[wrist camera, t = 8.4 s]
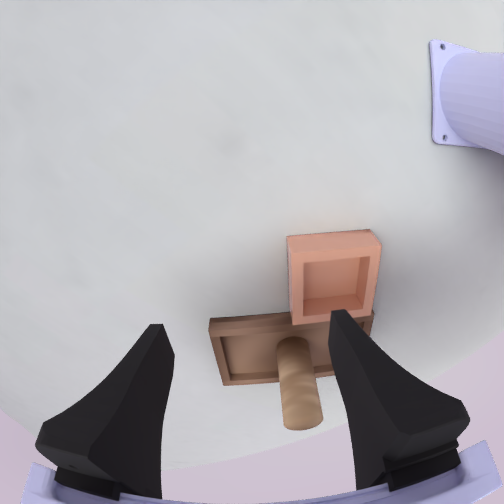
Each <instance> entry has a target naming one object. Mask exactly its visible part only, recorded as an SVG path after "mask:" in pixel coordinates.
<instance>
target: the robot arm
mask: <svg viewBox="0 0 504 504" xmlns="http://www.w3.org/2000/svg"><path fill="white" fill-rule="evenodd" d="M440 44H441V45H442V47H443V50H442V49H441V48H440ZM430 55H431V69H432V92H433V127H432V139H433V141H434V142H435V143H438V144H447V145H458V146H468V147H477V148H485V149H490V150H492V151H495V152H497V153H499V154H502V155H504V53H480V52H477V51H475V50H472V49H468V48H465V47H462V46H459V45H455V44H452V43H448V42H445V41H441V40H437V39H433V40H431V41H430ZM443 135H445V138H444V140H443V139H442V137H443ZM328 347H329V353H330V358H331V363H332V367H333V370H334V373H335V376H336V379H337V382H338V386H339V389H340V392H341V395H342V398H343V401H344V405H345V408H346V412H347V418H348V423H349V429H350V434H351V442H352V448H353V456H354V465H355V477H356V491H353V492H348V493H343V494H338V495H332V496H326V497H321V498H314V499H306V500H298V501H289V502H278V503H261V504H473V503H475V502H476V501H478V500H480V499H482V498H484V497H485V496H487V495H489V494H490V493H492V492H493V491H495V490H497V489H498V488H500V487H501V486H502V481H501V478H500V476H499V473H498V470H497V468H496V465H495V462H494V460H493V457H492V454H491V452H490V450H489V447H488V445H487V442H486V441H485V440H483V441H481V442H479V443H477V444H475V445H473V446H471V447H469V448H467V449H465V450H463V451H461V452H460V453H458V452H457V449H456V448H457V447H458V446H459V444H458V442H457V437H458V436H459V435H460V434H461V433H462V432H463V431H464V430H465V429H466V427H467V426H468V425H469V422H470V417H469V415H468V413H467V411H466V409H465V407H464V405H463V403H462V402H461V400H459V399H456V398H454V397H452V396H449V395H447V394H445V393H442V392H440V391H439V390H437V389H435V388H433V387H431V386H429V385H428V384H426V383H424V382H423V381H421V380H420V379H418V378H417V377H415V376H413V375H412V374H410V373H409V372H408V371H406V370H405V369H404V368H402V367H401V366H400V365H399V364H397V363H396V362H395V361H394V360H393V359H392V358H390V357H389V356H388V355H387V354H386V353H385V352H384V351H383V350H382V349H381V348H380V347H379V346H378V345H377V344H376V343H375V342H374V341H373V340H372V339H371V338H370V337H369V336H368V335H367V334H366V333H365V331H364V330H363V329H362V328H361V327H360V326H359V325H358V323H357V322H356V321H355V320H354V319H353V318H352V316H351V315H350V314H349V313H348V311H347V310H346V309H340V310H333V311H331V317H330V327H329V337H328ZM174 358H175V354H174V352H173V349H172V347H171V344H170V342H169V339H168V336H167V334H166V331H165V328H164V326H163V324H150V325H149V326H148V328H147V329H146V330H145V331H144V333H143V334H142V335H141V336H140V338H139V339H138V340H137V342H136V343H135V344H134V345H133V347H132V348H131V349H130V350H129V352H128V353H127V354H126V355H125V357H124V358H123V359H122V360H121V361H120V363H119V364H118V365H117V366H116V367H115V368H114V369H113V371H112V372H111V373H110V374H109V375H108V376H107V377H106V378H105V379H104V380H103V381H102V382H101V383H100V384H99V385H98V386H97V387H95V388H94V389H93V390H92V391H91V392H89V393H88V394H87V395H86V396H85V397H83V398H82V399H81V400H80V401H78V402H77V403H75V404H74V405H73V406H71V407H70V408H68V409H66V410H65V411H63V412H62V413H60V414H58V415H56V416H55V417H53V418H51V419H49V420H47V421H45V422H43V425H42V427H41V430H40V432H39V435H38V438H37V440H36V443H35V447H36V449H37V450H38V451H39V452H40V453H41V454H42V455H43V456H45V457H46V458H47V459H49V460H50V461H51V462H53V463H54V464H55V465H56V466H58V468H57V471H55V470H53V469H50V468H48V467H45V466H42V465H40V464H37V463H35V462H33V463H32V465H31V468H30V471H29V474H28V478H27V481H26V484H25V488H24V492H23V495H22V499H21V503H20V504H207V503H191V502H180V501H171V500H162V490H161V441H162V428H163V420H164V414H165V409H166V405H167V400H168V396H169V391H170V387H171V382H172V377H173V370H174Z"/></svg>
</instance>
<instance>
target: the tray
mask: <svg viewBox="0 0 504 504" xmlns="http://www.w3.org/2000/svg"><path fill="white" fill-rule="evenodd" d="M373 317H374V312H373V310H372V311H371V315H369V316H362V317H355V318H353V319H354V320H355V321H356V322H357V323H358V325H359V326H360V327H361V328H362V329H363V330H364V331H365V333H366V334H367V335H368V336H370V331H371V327H372V322H373ZM329 327H330V321H325V322H317V323H309V324H300V325H293V324H292V319H291V313H290V312H285V313H274V314H263V315H251V316H238V317H224V318H210V322H209V330H208V331H209V335H210V338H211V342H212V346H213V350H214V353H215V357H216V361H217V364H218V368H219V371H220V375H221V379H222V382H223V385H224V386H229V385H248V384H262V383H274V382H279V372H278V362H277V353H276V347H277V344H278V343H279V342H280V341H281V340H283V339H285V338H287V337H292V336H297V337H302V338H304V339H305V340H306V341H307V342H308V345H309V350H310V354H311V359H312V364H313V369H314V374H315V378H319V377H326V376H333V375H335V373H334V370H333V367H332V363H331V358H330V353H329V347H328V337H329Z"/></svg>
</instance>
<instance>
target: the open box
mask: <svg viewBox="0 0 504 504" xmlns="http://www.w3.org/2000/svg"><path fill="white" fill-rule="evenodd" d="M381 248H382V245H381V243H380V242H379V241H378V239H377V238H376V237H375V236H374V234H373V233H372V232H371V230H370V229H367V230H354V231H342V232H330V233H318V234H307V235H295V236H287V258H288V286H289V307H290V313H291V319H292V324H293V325H300V324H309V323H317V322H325V321H330V317H331V311H333V310H340V309H346V310H347V311H348V313H349V314H350V315H351V316H352V318H355V317H362V316H369V315H371V311H372V306H373V300H374V295H375V289H376V283H377V276H378V270H379V263H380V256H381Z"/></svg>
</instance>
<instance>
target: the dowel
mask: <svg viewBox="0 0 504 504" xmlns="http://www.w3.org/2000/svg"><path fill="white" fill-rule="evenodd" d="M276 353H277V362H278V372H279V382H280V392H281V402H282V412H283V422H284V426H285V427H286V428H287V429H290V430H307V429H310V428H313V427H316V426H317V425H319V424H320V423H321V422H322V421H323V414H322V409H321V404H320V399H319V393H318V388H317V383H316V379H315V374H314V369H313V364H312V359H311V354H310V350H309V345H308V342H307V341H306V340H305V339H304V338H302V337H297V336H292V337H287V338H285V339H283V340H281V341H280V342H279V343H278V344H277V347H276Z"/></svg>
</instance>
